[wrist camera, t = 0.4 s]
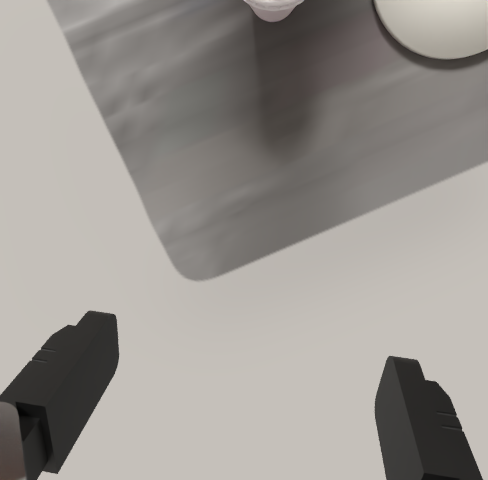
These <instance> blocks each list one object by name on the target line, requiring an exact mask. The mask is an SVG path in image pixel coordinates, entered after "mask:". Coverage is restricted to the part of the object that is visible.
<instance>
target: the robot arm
mask: <svg viewBox="0 0 488 480" xmlns="http://www.w3.org/2000/svg"><path fill="white" fill-rule="evenodd" d="M118 360H119V347H118V332H117V319H116V316H115V315H114V314H110V313H103V312H96V311H88V312H87V313H86V314H85V315H84V316H83V318H82V319H81V320H80V321H79V323H78V324H77V325H76V326H72V325H67V326H66V327H64V328H62V329H61V330H59V331H58V332H56V333H54V334H53V335H52V336H51V337H50V338H49V339H48V340H47V341H46V343H45V344H44V345H43V346H42V347H41V350H39V351H38V352H37V353H36V354H35V356H34V357H33V358H32V361H30V362H29V363H28V364H27V365H26V366H25V367H24V368H23V369H22V371H21V372H20V373H19V374H18V375H17V376H16V378H15V379H14V380H13V381H12V382H11V383H10V385H9V386H8V387H7V388H6V389H5V391H4V392H3V393H2V394H1V395H0V480H37V479H38V477H39V475H40V474H41V472H42V471H45V472H50V473H56V474H58V472H59V470H60V469H61V467H62V465H63V463H64V461H65V460H66V458H67V456H68V455H69V453H70V451H71V449H72V447H73V446H74V444H75V442H76V441H77V439H78V437H79V435H80V434H81V431H82V430H83V428H84V427H85V425H86V423H87V421H88V419H89V418H90V416H91V414H92V413H93V411H94V409H95V407H96V406H97V404H98V402H99V400H100V399H101V397H102V395H103V393H104V392H105V390H106V388H107V386H108V385H109V383H110V381H111V379H112V378H113V376H114V374H115V371H116V368H117V365H118ZM456 415H457V414H456V412H455V409H454V407H453V404H452V402H451V399H450V397H449V396H448V395H447V394H446V392H445V391H444V390H443V389H442V388H441V387H440V386H439V384H438V383H437V382H435V381H428V380H425V378H424V375H423V372H422V369H421V366H420V364H419V362H418V361H417V360H414V359H408V358H401V357H394V356H389V357H388V358H387V361H386V364H385V367H384V371H383V374H382V377H381V381H380V384H379V387H378V391H377V395H376V399H375V419H376V425H377V430H378V436H379V441H380V446H381V452H382V457H383V463H384V468H385V474H386V479H387V480H483V479H482V476H481V474H480V471H479V469H478V466H477V464H476V461H475V459H474V456H473V454H472V451H471V449H470V446H469V444H468V441H467V439H466V437H465V434H464V432H462V426H461V424H460V422H459V419H458V418H457V417H456Z"/></svg>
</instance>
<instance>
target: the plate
mask: <svg viewBox="0 0 488 480" xmlns="http://www.w3.org/2000/svg"><path fill="white" fill-rule="evenodd" d="M373 2H374V5H375V8H376V11H377V13H378V15H379V18H380V20H381V22H382V23H383V25H384V26H385V28H386V30H387V31H388V32H389V33H390V34H391V35H392V37H393V38H394V39H395V40H397V41H398V42H399V43H400V44H401V45H402V46H404V47H405V48H407V49H409V50H410V51H412V52H414V53H416V54H419V55H422V56H425V57H428V58H434V59H458V58H464V57H468V56H471V55H475V54H477V53H480V52H482V51H485V50H487V49H488V0H373Z"/></svg>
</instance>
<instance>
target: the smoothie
mask: <svg viewBox="0 0 488 480" xmlns="http://www.w3.org/2000/svg"><path fill="white" fill-rule="evenodd" d="M244 1H245V2H246V3H247V4H249V5H250V6H251V8H252V9H253V11H254V12H255V14H256V15H257V16H258V17H259V18H261V19H263V20H265V21H268V22H277V21H280V20H282V19H284V18H286V17H287V16H288V15H289V14H290V13H291V11H292V10H293V9H294V8H295V6H296V5H298V4H300V3H302V2H303V1H304V0H244Z"/></svg>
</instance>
